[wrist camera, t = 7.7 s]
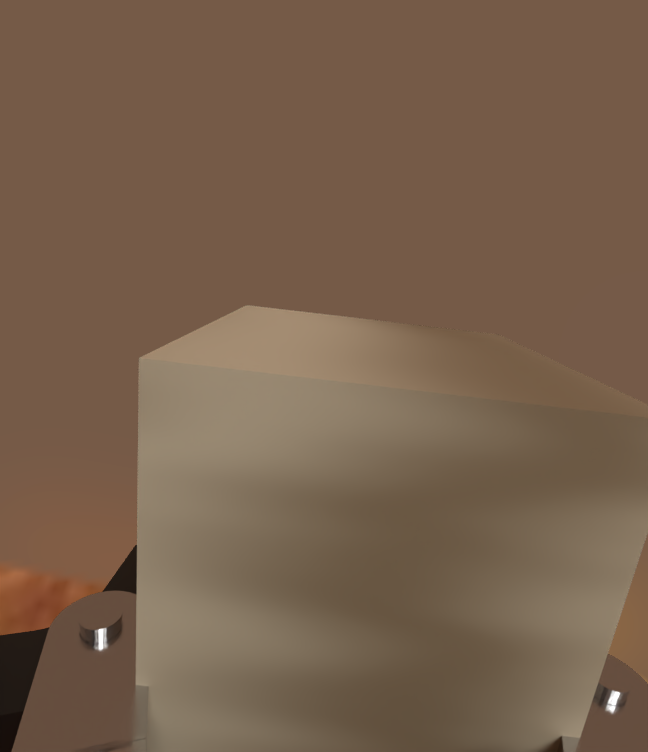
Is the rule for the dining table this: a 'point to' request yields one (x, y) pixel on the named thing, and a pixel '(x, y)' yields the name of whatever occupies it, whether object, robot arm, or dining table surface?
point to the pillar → (377, 537)
